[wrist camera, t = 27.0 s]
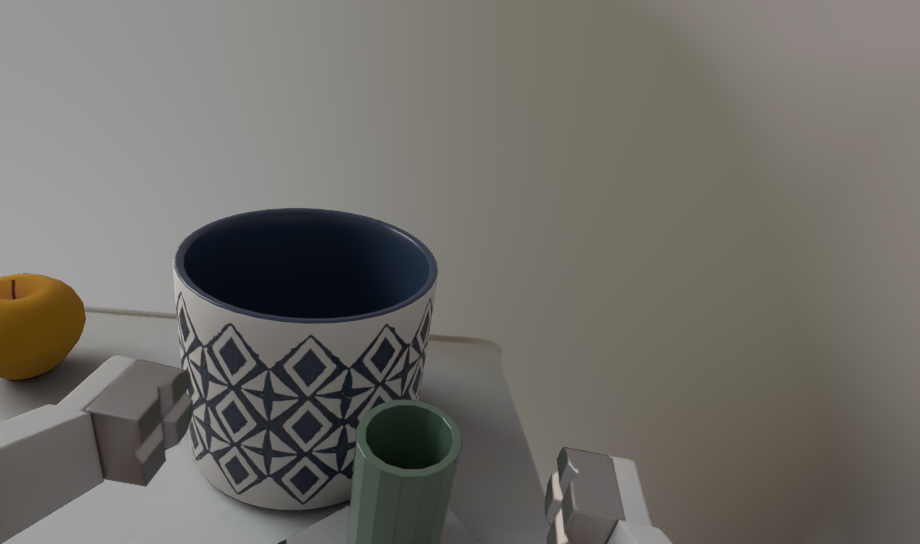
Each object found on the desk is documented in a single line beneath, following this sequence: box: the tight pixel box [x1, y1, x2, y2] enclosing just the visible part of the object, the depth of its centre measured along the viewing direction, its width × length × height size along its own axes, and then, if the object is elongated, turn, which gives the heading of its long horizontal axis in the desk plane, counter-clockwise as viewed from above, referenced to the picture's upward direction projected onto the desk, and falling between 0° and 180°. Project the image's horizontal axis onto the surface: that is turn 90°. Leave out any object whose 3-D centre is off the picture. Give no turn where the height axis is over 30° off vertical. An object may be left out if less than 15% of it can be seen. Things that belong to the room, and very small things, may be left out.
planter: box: [173, 208, 438, 510], centre depth 42 cm, size 18×18×16 cm
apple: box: [0, 273, 86, 380], centre depth 44 cm, size 9×9×9 cm
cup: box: [346, 400, 462, 544], centre depth 30 cm, size 6×6×10 cm
